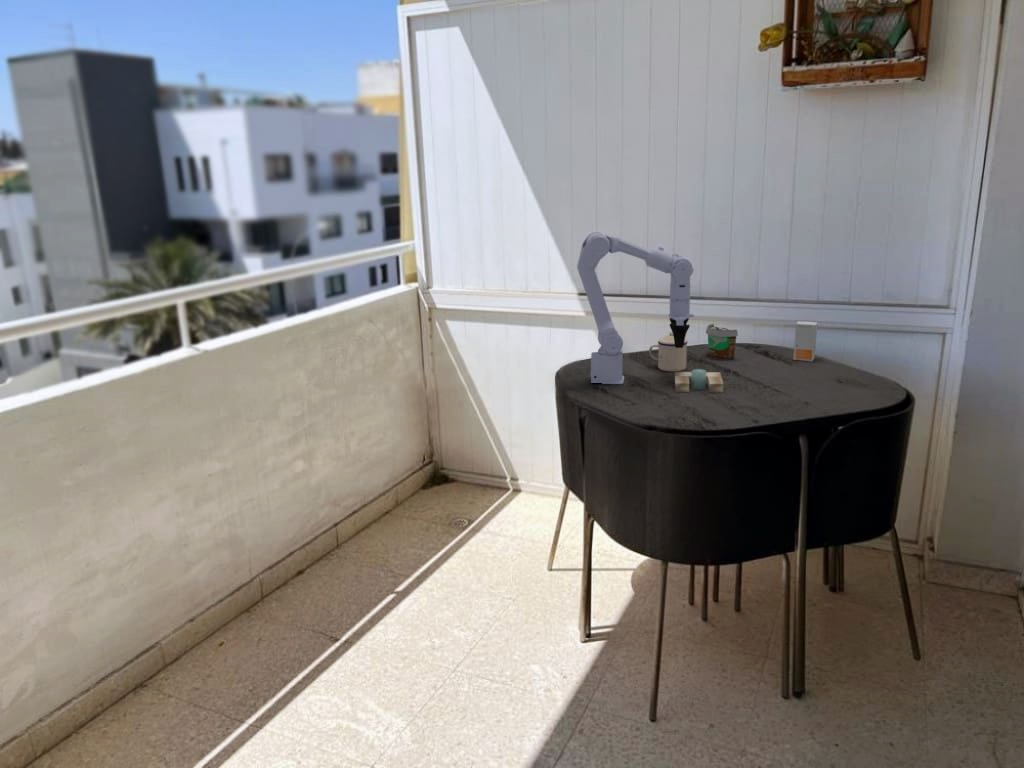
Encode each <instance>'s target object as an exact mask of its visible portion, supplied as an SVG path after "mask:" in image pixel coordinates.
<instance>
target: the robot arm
mask: <svg viewBox="0 0 1024 768" xmlns="http://www.w3.org/2000/svg"><path fill="white" fill-rule="evenodd" d="M619 252H621V253H624V254H627V255H629V256H632V257H635V258H637V259H641V260H643V261H644V262H645V265H646V267H649V268H652V269H654V270H657V271H660V272H662V273H665V274H670V284H669V314H668V317H669V322H670V323H669V327H670V329H671V332H673V336H674V343H675V347H676V348H683V345H684V341H685V339H686V336H687V333H688V331H689V328H690V326H691V325H690V324H688V322H689V320H690V318H694V316H695V315H694V313H692V312H690V309H691V308H690V307H691V305H690V304H691V276H692V275H693V272H694V268H693V265H692V262H690V260H688V259H686V258H685V257H683V256H681V255H679V254H678V253H676V252H675V253H671V252H668V251H665V250H664V247H662V246H658V247H652V248H649V249H647V248H646V247H643V246H640V245H638V244H636V243H632V242H630V241H628V240H626V239H623V238H621V237H619V236H615V235H610V234H606V233H605V234H603V233H601V232H597V231H594V232H591V233H589V234H588V235H587V236H586V238H585V239H584V240H583V242H582V245H581V249H580V253H579V258H578V260H577V265H576V267H577V271H578V275H579V277H580V281H581V283H582V285H583V289H584V292H585V294H586V295H585V296H586V297H587V301H588V304H589V306H590V307H589V308H590V309H591V312H592V315H593V318H594V322H595V324H596V328H597V332H598V335H597V340H598V343H599V345H600V346H599V349H597V351H595V352H594V351H593V352H591V354H590V355H591V356H590V384H591V383H602V384H601V385H624V381H625V376H624V375H623V349H622V348H623V346H624V341H623V338H622V337H621V336H620V334H619V332H618V331H617V330H616V328H615V325H614V323H613V321H612V318H611V315H610V314H611V313H610V311H609V308H608V305H607V302H606V300H605V296H604V294H603V291H602V288H601V285H600V281H599V279H598V275H597V272H596V269H597V267H598V265H599V263H600V261H601V260H602V259H603V258H604V257H606V255H607V254H609V253H610V254H615V253H619Z"/></svg>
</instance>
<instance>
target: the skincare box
mask: <svg viewBox="0 0 1024 768" xmlns="http://www.w3.org/2000/svg"><path fill="white" fill-rule="evenodd" d="M818 324H819V323H818V322H814V321H799V320H798V321H797V322H796V323H795V335H794V336H795V337H794V346H793V360H794V361H805V362H813V361H814V360H815V357H816V348H817V347H816V346H817V345H816V344H817V333H818Z"/></svg>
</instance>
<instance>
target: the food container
mask: <svg viewBox="0 0 1024 768" xmlns="http://www.w3.org/2000/svg"><path fill="white" fill-rule="evenodd" d="M705 333H706V335H707V344H708V348H707V349H708V356H710V357H709V358H711V357H712V358H711V359H714V358H716V359H715V360H722V359H728V360H734V358H735V351H736V343H737V337H738V335H739V334H738V329H728V328H726V327H717V326H715V323H711V324H708V325H707V327H706V330H705Z"/></svg>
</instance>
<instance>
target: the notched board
mask: <svg viewBox="0 0 1024 768" xmlns="http://www.w3.org/2000/svg"><path fill="white" fill-rule="evenodd" d="M691 379H692V371H674V387H675V388H674V389H675V390H674V391H675V392H676V393H679V392H680V393H689V392H690V385H691ZM706 386H707V387H708V393H724V381H723V378H722V375H721V372H720V371H719V372H715V371H714V372H710V371H709V372H707V371H706Z"/></svg>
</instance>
